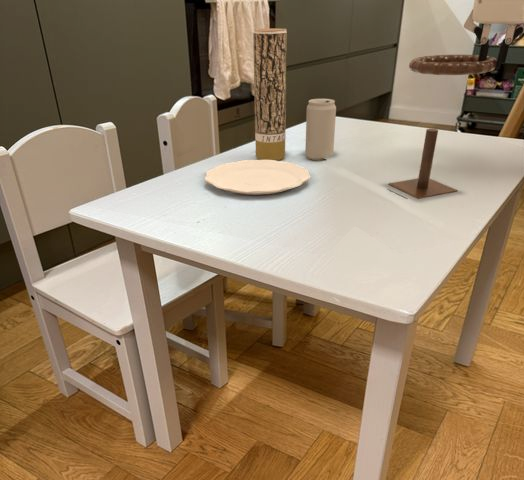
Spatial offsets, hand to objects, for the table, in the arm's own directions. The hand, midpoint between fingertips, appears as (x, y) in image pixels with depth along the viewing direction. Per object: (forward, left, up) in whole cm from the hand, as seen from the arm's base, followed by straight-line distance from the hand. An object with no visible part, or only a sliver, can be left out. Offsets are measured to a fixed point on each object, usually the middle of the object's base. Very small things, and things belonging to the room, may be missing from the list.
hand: (490, 67), depth 95 cm
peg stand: (+19, +8, -19) cm, 28 cm away
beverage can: (+24, -22, -19) cm, 38 cm away
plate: (+44, -12, -19) cm, 49 cm away
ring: (+5, -5, 0) cm, 7 cm away
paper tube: (+34, -27, -19) cm, 47 cm away
